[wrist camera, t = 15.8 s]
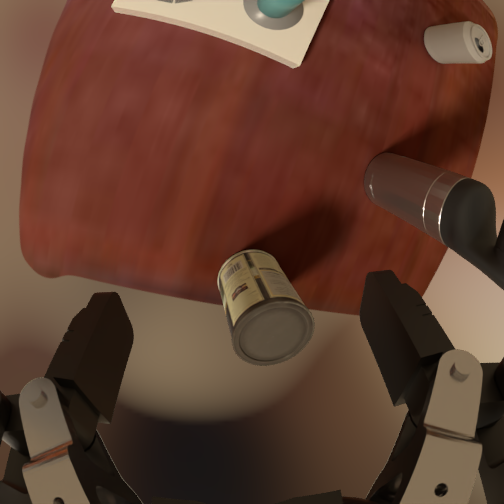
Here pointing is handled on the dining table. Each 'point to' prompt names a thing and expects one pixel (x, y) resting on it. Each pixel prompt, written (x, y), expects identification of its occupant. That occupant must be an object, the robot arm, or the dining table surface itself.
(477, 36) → the can
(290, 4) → the seated pin
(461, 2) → the dining table surface
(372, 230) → the dining table surface
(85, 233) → the dining table surface
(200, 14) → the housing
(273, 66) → the dining table surface
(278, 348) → the coffee can
